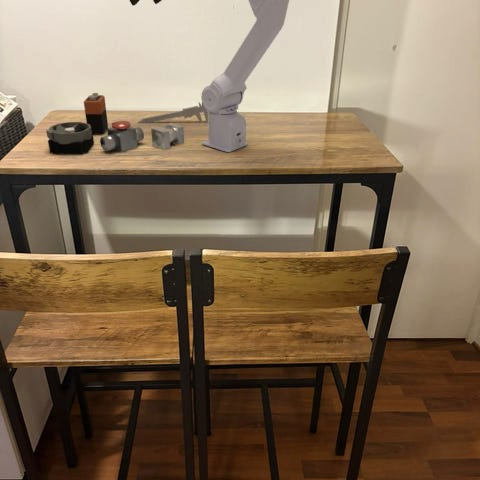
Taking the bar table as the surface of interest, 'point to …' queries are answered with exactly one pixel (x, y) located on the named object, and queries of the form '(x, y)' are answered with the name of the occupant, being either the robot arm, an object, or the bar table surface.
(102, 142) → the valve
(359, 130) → the bar table surface
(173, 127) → the coupling
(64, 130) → the cpu cooler
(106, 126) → the battery
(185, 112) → the caliper
